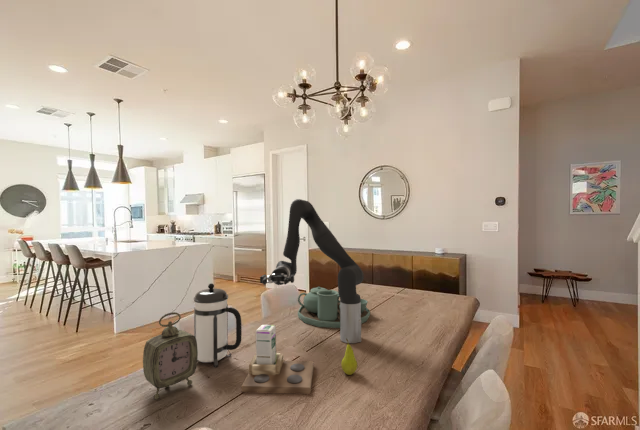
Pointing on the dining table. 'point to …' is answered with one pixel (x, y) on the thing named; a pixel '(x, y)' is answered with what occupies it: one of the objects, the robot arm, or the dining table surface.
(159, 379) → the tabletop clock
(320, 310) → the tea set
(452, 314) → the dining table surface
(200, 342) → the coffee press
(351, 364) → the fruit
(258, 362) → the syrup box
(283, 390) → the wooden board with discs
